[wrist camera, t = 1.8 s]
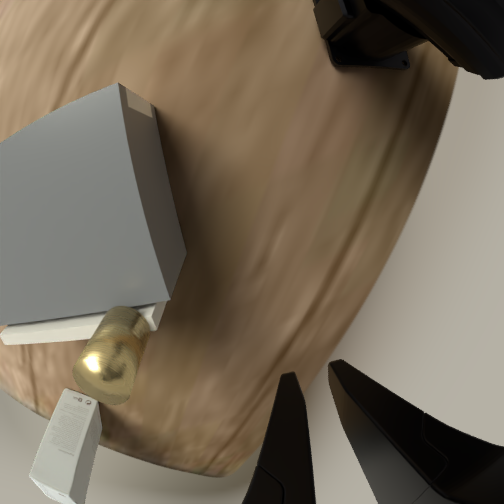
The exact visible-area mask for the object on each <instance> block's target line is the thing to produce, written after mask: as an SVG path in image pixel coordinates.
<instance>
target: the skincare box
mask: <svg viewBox="0 0 504 504" xmlns="http://www.w3.org/2000/svg"><path fill="white" fill-rule="evenodd" d="M101 432H102V423H101V417H100V411H99V405H98V401H97V400H95V399H93V398H91V397H89V396H87V395H84V394H81V393H78V392H76V391H73V390H70V389H68V388H66V389H64V391H63V393H62V395H61V397H60V399H59V402H58V404H57V406H56V408H55V410H54V413H53V415H52V417H51V420H50V422H49V424H48V426H47V429H46V431H45V434H44V436H43V439H42V441H41V444H40V446H39V449H38V452H37V455H36V457H35V460H34V463H33V466H32V468H31V471H30V474H29V477H30V478H31V479H32V480H33V481H34V483H35V484H36V485H37V486H38V487H39V488H40V489H41V490H42V491H43V492H44V493H45V494H46V495H47V497H49V498H51V499H53V500H55V501H57V502H60V503H62V504H85V499H86V494H87V488H88V484H89V480H90V475H91V471H92V466H93V462H94V458H95V454H96V450H97V446H98V443H99V439H100V435H101Z"/></svg>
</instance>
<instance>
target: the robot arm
mask: <svg viewBox="0 0 504 504" xmlns="http://www.w3.org/2000/svg"><path fill="white" fill-rule="evenodd" d="M313 2H314V5H315V8H314V9H313V11H314V14H315V17H316V21H317V24H318V27H319V31H320V34H321V37H322V38H323V39H324V40H325V42H326V45H327V49H328V53H329V57H330V61H331V63H332V64H333V65H335V66H338V67H371V68H386V69H398V70H406V69H408V68H409V67H410V63H409V59H408V55H407V52H406V50H408V49H411V48H413V47H415V46H418V45H420V44H422V43H425V42H427V41H430V42H431V43H432V44H433V45H434V46H435V47H437V48H438V49H439V50H440V51H441V52H442V53H443V54H444V55H445V56H446V57H448V60H449V61H450V62H451V63H452V64H453V65H454V66H457V67H462V68H464V69H465V70H466V71H468V72H471V73H474V74H477V75H480V76H481V77H482V78H483V79H485V80H487V79H499V78H503V77H504V0H313ZM336 57H338V58H340V60H341V62H338V61H337V60H336ZM402 62H403V63H404V64H405V66H404V65H403V64H402ZM328 378H329V379H328V380H329V385H330V389H331V392H332V395H333V399H334V402H335V405H336V408H337V411H338V415H339V418H340V421H341V424H342V426H343V429H344V431H345V433H346V435H347V438H348V440H349V442H350V444H351V446H352V448H353V450H354V453H355V455H356V457H357V459H358V461H359V463H360V465H361V468H362V470H363V472H364V474H365V476H366V478H367V480H368V483H369V485H370V487H371V489H372V491H373V493H374V496H375V497H376V500H377V502H378V504H504V447H503V446H498V445H495V444H492V443H489V442H487V441H484V440H481V439H478V438H476V437H474V436H471V435H469V434H466V433H464V432H461V431H459V430H457V429H455V428H453V427H450V426H448V425H446V424H444V423H443V422H441V421H439V420H437V419H435V418H434V417H432V416H431V415H429V414H427V413H424V412H423V411H422V410H420V409H419V408H417V407H415V406H414V405H412V404H411V403H409V402H407V401H406V400H404V399H403V398H401V397H399V396H398V395H396V394H395V393H393V392H391V391H390V390H388V389H387V388H385V387H384V386H382V385H381V384H379V383H377V382H376V381H374V380H373V379H371V378H370V377H368V376H367V375H365V374H364V373H362V372H361V371H359V370H357V369H356V368H354V367H353V366H351V365H350V364H348V363H347V362H345V361H344V360H342V359H339V360H336V361H332V362H330V363H329V364H328ZM311 456H312V455H311V446H310V437H309V428H308V419H307V411H306V405H305V400H304V396H303V393H302V390H301V388H300V385H299V382H298V379H297V376H296V374H295V372H289V373H284V374H282V375H281V377H280V381H279V385H278V389H277V393H276V397H275V401H274V404H273V408H272V412H271V416H270V420H269V423H268V427H267V430H266V434H265V438H264V441H263V445H262V448H261V452H260V455H259V459H258V462H257V466H256V468H255V471H254V474H253V478H252V480H251V483H250V486H249V488H248V491H247V493H246V496H245V498H244V500H243V502H242V504H316V498H315V487H314V476H313V465H312V457H311Z"/></svg>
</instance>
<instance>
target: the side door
mask: <svg viewBox="0 0 504 504" xmlns="http://www.w3.org/2000/svg"><path fill="white" fill-rule="evenodd" d="M166 303H167V301H162V302H156V303H151V304H145V305H139V306H133V307H127V306H116V307H113V308H111V309H110V310H108V311H103V312H96V313H90V314H83V315H77V316H70V317H63V318H56V319H49V320H41V321H34V322H26V323H18V324H10V325H8V326H7V327H6V328H5V329H4V330H3V331H2V332H1V333H0V337H1V339H2V341H3V342H4V344H5V345H13V344H32V343H47V342H60V341H72V340H82V339H90V340H89V342H88V343H87V345H86V347H85V348H84V350H83V352H82V353H81V355H80V357H79V358H78V360H77V362H76V364H75V365H74V368H73V377H74V380H75V382H76V383H77V385H78V386H79V388H80V389H81V390H82V391H83V392H84V393H86V394H87V395H88V396H90V397H91V398H93V399H95V400H97V401H99V402H102V403H105V404H110V405H119V404H122V403H124V402H126V401H127V400H128V399H129V396H130V393H131V390H132V387H133V384H134V381H135V377H136V374H137V371H138V368H139V365H140V362H141V359H142V356H143V353H144V351H145V348H146V345H147V342H148V339H149V336H150V331H155V330H157V329H158V326H159V323H160V320H161V317H162V314H163V311H164V308H165V306H166Z"/></svg>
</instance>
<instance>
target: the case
mask: <svg viewBox="0 0 504 504" xmlns="http://www.w3.org/2000/svg"><path fill="white" fill-rule="evenodd" d="M186 254H187V251H186V248H185V244H184V240H183V236H182V232H181V228H180V225H179V221H178V217H177V213H176V209H175V204H174V200H173V196H172V192H171V187H170V183H169V179H168V174H167V170H166V165H165V160H164V156H163V151H162V146H161V141H160V136H159V131H158V126H157V120H156V115H155V109H154V105H152V104H151V103H149V102H148V101H146V100H145V99H143V98H141V97H140V96H138V95H137V94H135V93H134V92H132V91H131V90H129V89H127V88H126V87H124V86H123V85H121V84H119V83H116V84H113V85H110V86H108V87H105V88H103V89H100V90H98V91H96V92H93V93H91V94H89V95H86V96H84V97H82V98H80V99H77V100H75V101H73V102H71V103H69V104H67V105H65V106H63V107H61V108H59V109H57V110H55V111H53V112H51V113H49V114H47V115H45V116H44V117H42V118H40V119H38V120H36V121H35V122H33V123H31V124H30V125H28V126H26V127H25V128H23V129H21V130H20V131H18V132H16V133H15V134H13V135H12V136H10V137H9V138H7V139H6V140H4V141H3V142H1V143H0V326H1V325H10V324H18V323H26V322H34V321H41V320H49V319H56V318H63V317H70V316H77V315H83V314H90V313H96V312H103V311H108V310H110V309H111V308H113V307H116V306H127V307H133V306H139V305H145V304H151V303H156V302H162V301H167V300H171V297H172V294H173V291H174V288H175V285H176V282H177V279H178V276H179V274H180V271H181V268H182V265H183V262H184V260H185V257H186Z"/></svg>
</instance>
